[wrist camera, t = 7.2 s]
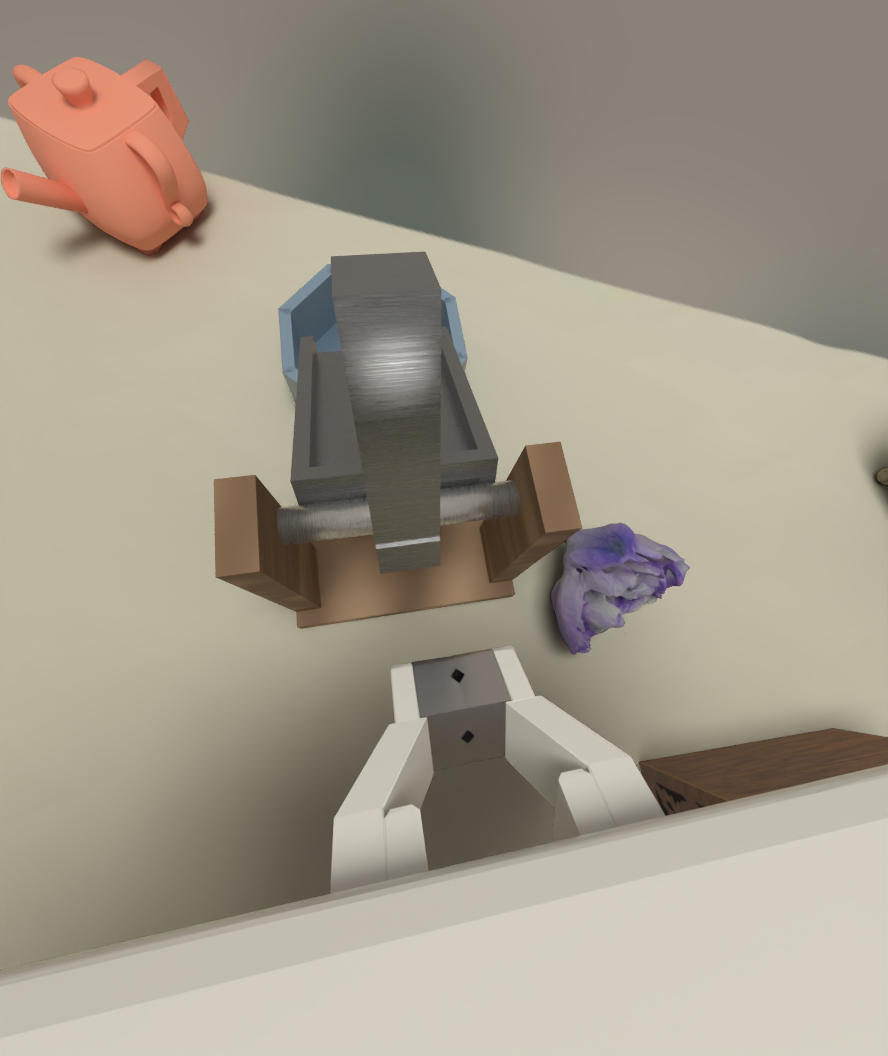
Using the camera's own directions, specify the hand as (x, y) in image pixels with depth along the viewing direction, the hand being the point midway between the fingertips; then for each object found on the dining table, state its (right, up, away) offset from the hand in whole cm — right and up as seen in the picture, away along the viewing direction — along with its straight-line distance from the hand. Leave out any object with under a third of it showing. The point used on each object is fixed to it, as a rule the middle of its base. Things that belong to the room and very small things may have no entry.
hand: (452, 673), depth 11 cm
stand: (-3, +1, +21) cm, 21 cm away
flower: (+9, -1, +22) cm, 24 cm away
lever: (-3, +7, +12) cm, 14 cm away
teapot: (-27, +30, +28) cm, 49 cm away
